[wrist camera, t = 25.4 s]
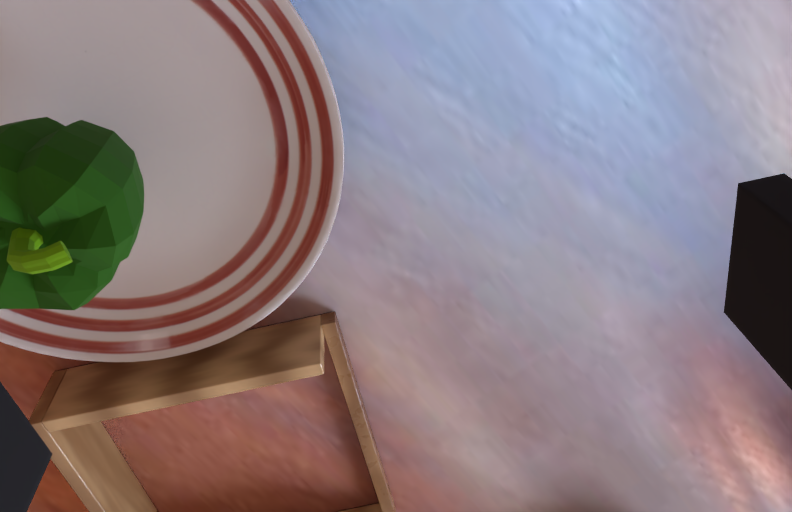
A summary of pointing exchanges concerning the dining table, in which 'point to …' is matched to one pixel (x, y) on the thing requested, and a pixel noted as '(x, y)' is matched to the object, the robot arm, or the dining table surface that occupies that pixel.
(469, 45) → the dining table surface
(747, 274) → the robot arm
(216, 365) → the crate
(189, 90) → the dinner plate
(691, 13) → the dining table surface
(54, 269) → the bell pepper
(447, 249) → the dining table surface
